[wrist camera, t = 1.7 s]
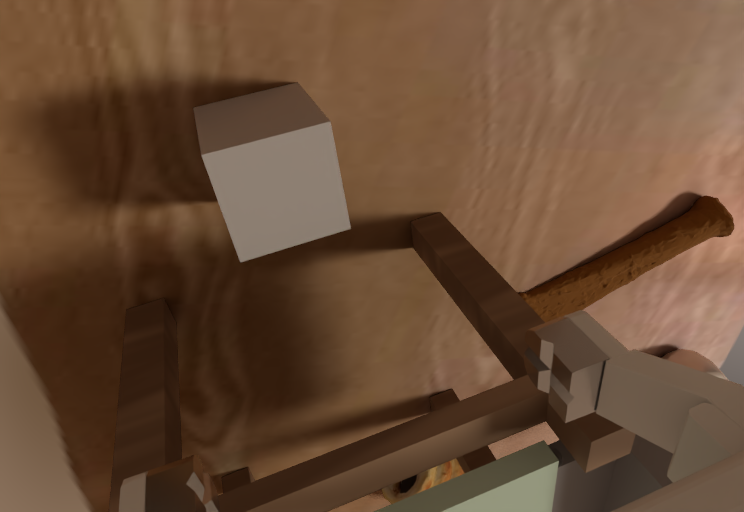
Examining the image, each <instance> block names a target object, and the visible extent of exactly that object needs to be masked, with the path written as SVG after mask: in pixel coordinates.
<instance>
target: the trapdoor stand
mask: <svg viewBox="0 0 744 512" xmlns="http://www.w3.org/2000/svg"><path fill="white" fill-rule="evenodd" d="M411 229H412V239H413V248H414V249H415V251H416V252H417V253H418V255H419V256H420V257H421V259H422V260H423V261H424V263H425V264H426V265H427V266H428V268H429V269H430V270H431V272H432V273H433V274H434V276H435V277H436V278H437V280H438V281H439V282H440V283H441V285H442V286H443V287H444V289H445V290H446V291H447V293H448V294H449V295H450V297H451V298H452V299H453V300H454V302H455V303H456V304H457V306H458V307H459V308H460V310H461V311H462V312H463V314H464V315H465V316H466V317H467V319H468V320H469V321H470V323H471V324H472V325H473V327H474V328H475V329H476V331H477V332H478V333H479V334H480V336H481V337H482V338H483V340H484V341H485V342H486V344H487V345H488V346H489V348H490V349H491V350H492V351H493V353H494V354H495V355H496V357H497V358H498V359H499V361H500V362H501V363H502V365H503V366H504V367H505V368H506V370H507V371H508V372H509V374H510V375H511V376H512V378H513V379H514V380H513V381H510V382H508V383H505V384H503V385H500V386H497V387H495V388H492V389H490V390H487V391H485V392H482V393H479V394H477V395H474V396H472V397H469V398H467V399H464V400H462V401H460V400H459V399H458V397H457V395H456V394H455V392H454V391H453V389H450V390H448V391H445V392H443V393H440V394H437V395H435V396H432V397H430V405H431V413H428V414H426V415H423V416H421V417H418V418H415V419H413V420H410V421H408V422H405V423H403V424H400V425H397V426H395V427H392V428H390V429H387V430H385V431H382V432H380V433H377V434H374V435H372V436H369V437H367V438H364V439H362V440H359V441H357V442H354V443H351V444H349V445H346V446H344V447H341V448H339V449H336V450H333V451H331V452H328V453H326V454H323V455H321V456H318V457H316V458H313V459H310V460H308V461H305V462H303V463H300V464H298V465H295V466H292V467H290V468H287V469H285V470H282V471H280V472H277V473H275V474H272V475H269V476H267V477H264V478H262V479H259V480H257V481H255V480H254V478H253V476H252V474H251V472H250V470H249V468H248V467H247V468H245V469H242V470H240V471H237V472H234V473H232V474H229V475H226V476H224V477H222V485H223V494H221V495H218V499H219V504H220V512H327V511H330V510H332V509H335V508H337V507H339V506H342V505H344V504H347V503H349V502H352V501H354V500H356V499H359V498H361V497H364V496H366V495H368V494H371V493H373V492H376V491H378V490H381V489H383V488H385V487H388V486H390V485H393V484H395V483H397V482H400V481H402V480H405V479H407V478H410V477H412V476H414V475H417V474H419V473H422V472H424V471H427V470H429V469H431V468H434V467H436V466H439V465H441V464H443V463H446V462H448V461H451V460H453V459H457V461H458V462H459V464H460V466H461V468H462V470H463V472H464V473H467V472H470V471H472V470H474V469H477V468H479V467H481V466H484V465H486V464H489V463H491V462H493V461H496V458H495V457H494V455H493V454H492V452H491V450H490V449H489V447H488V446H487V445H489V444H492V443H494V442H497V441H499V440H502V439H504V438H506V437H509V436H511V435H514V434H516V433H518V432H521V431H523V430H526V429H528V428H531V427H533V426H535V425H538V424H540V423H543V422H545V421H546V422H547V423H548V425H549V426H550V427H551V429H552V430H553V431H554V433H555V434H556V435H557V436H558V438H559V439H560V440H561V442H562V443H563V444H564V446H565V447H566V448H567V450H568V451H569V452H570V453H571V455H572V456H573V457H574V459H575V460H576V461H577V463H578V464H579V465H580V467H581V468H582V469H583V470H584V472H585V473H587V472H589V471H591V470H594V469H596V468H598V467H600V466H603V465H605V464H607V463H609V462H612V461H614V460H616V459H618V458H621V457H623V456H625V455H627V454H630V452H631V449H632V445H633V442H634V438H635V435H636V434H635V433H633V432H631V431H629V430H627V429H625V428H623V427H621V426H619V425H618V424H616V423H614V422H612V421H610V420H608V419H606V418H604V417H602V416H600V415H598V414H597V413H596V412H593V413H590V414H588V415H585V416H583V417H580V418H577V419H575V420H572V421H570V422H567V423H565V422H564V421H563V420H562V418H561V417H560V416H559V415H558V414H557V412H556V411H555V410H554V409H553V407H552V406H551V405H550V404H549V403H548V402H549V393H546V392H544V391H541V390H539V389H537V388H536V386H535V385H534V384H533V382H532V381H531V379H530V378H529V376H528V374H527V371H526V368H525V365H524V353H525V351H526V350H527V349H528V347H529V346H528V345H527V343H526V342H525V333H526V332H527V330H528V329H531V328H533V327H536V326H538V325H541V324H544V323H545V322H544V321H543V320H542V319H541V317H540V316H539V315H538V314H537V313H536V312H535V311H534V310H533V309H532V308H531V307H530V306H529V305H528V304H527V303H526V302H525V301H524V300H523V299H522V297H521V296H520V295H519V294H518V293H517V292H516V291H515V290H514V289H513V288H512V287H511V286H510V285H509V284H508V283H507V282H506V281H505V280H504V278H503V277H502V276H501V275H500V274H499V273H498V272H497V271H496V270H495V269H494V268H493V267H492V266H491V265H490V264H489V263H488V262H487V261H486V260H485V258H484V257H483V256H482V255H481V254H480V253H479V252H478V251H477V250H476V249H475V248H474V247H473V246H472V245H471V244H470V243H469V242H468V241H467V240H466V238H465V237H464V236H463V235H462V234H461V233H460V232H459V231H458V230H457V229H456V228H455V227H454V226H453V225H452V224H451V223H450V222H449V221H448V220H447V218H446V217H445V216H444V215H443V214H442V213H441V212H440V213H437V214H433V215H430V216H427V217H424V218H421V219H417V220H414V221H411ZM180 459H182V447H181V421H180V396H179V371H178V345H177V324H176V322H175V320H174V318H173V316H172V314H171V312H170V310H169V308H168V306H167V304H166V302H165V300H164V298H162V299H159V300H156V301H153V302H150V303H146V304H143V305H140V306H137V307H133V308H130V309H127V310H126V320H125V331H124V343H123V354H122V366H121V377H120V388H119V400H118V411H117V423H116V434H115V446H114V457H113V469H112V480H111V492H110V503H109V512H119V501H120V488H121V486H122V483H123V480H124V479H126V478H129V477H132V476H135V475H138V474H140V473H143V472H146V471H148V470H151V469H154V468H157V467H160V466H163V465H166V464H169V463H172V462H175V461H178V460H180Z"/></svg>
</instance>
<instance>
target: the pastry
mask: <svg viewBox="0 0 744 512" xmlns="http://www.w3.org/2000/svg"><path fill="white" fill-rule="evenodd" d="M462 474H465V473H464V472H463V470H462V468H461V466H460V464H459V462H458V461H457V459H453V460H451V461H448V462H446V463H443V464H441V465H439V466H436V467H434V468H431V469H429V470H427V471H424V472H422V473H419V474H417V475H414V476H412V477H410V478H407V479H405V480H402V481H400V482H397V483H395V484H393V485H390V486H388V487H385V488H383V489H382V493H383V496H384V498H385V499H386V500H388V501H389V502H390V503H391V504H394V503H396V502H398V501H401V500H403V499H405V498H408V497H410V496H413V495H415V494H417V493H420V492H422V491H424V490H427V489H429V488H432V487H434V486H436V485H439V484H441V483H443V482H446V481H448V480H451V479H453V478H455V477H458V476H460V475H462Z"/></svg>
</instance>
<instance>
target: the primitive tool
mask: <svg viewBox="0 0 744 512" xmlns="http://www.w3.org/2000/svg"><path fill="white" fill-rule="evenodd" d="M733 230H734V223H733V217H732V215H731V214H730V213H729V212H728V211H727V209H726V208H725V207H724V206H723V205H722V204H721V203H720V202H719V200H718V198H713V197H710V196H703V197H700V198H699V199H698V200H697V201H696V202H695V203H694V205H693V206H692V208H691V209H690V211H688V212H687V213H685V214H684V215H682V216H681V217H678V218H676V219H674V220H672V221H670V222H668V223H667V224H665V225H663V226H662V227H659V228H657V229H656V230H654V231H652V232H648V233H646V234H644V235H643V236H641V237H640V238H638V239H637V240H635V241H632V242H630V243H628V244H625V245H623V246H621V247H619V248H618V249H616V250H614V251H612V252H610V253H608V254H605V255H604V256H602V257H600V258H598V259H596V260H594V261H592V262H590V263H588V264H586V265H584V266H581V267H578V268H576V269H574V270H573V271H570V272H567V273H566V274H564V275H563V276H561V277H558V278H557V279H555V280H553V281H550V282H548V283H545V284H544V285H542V286H540V287H538V288H535V289H533V290H531V291H529V292H527V293H524V292H522V293H519V295H520V296H521V297H522V299H523V300H524V301H525V302H526V303H527V304H528V305H529V306H530V307H531V308H532V309H533V310H534V311H535V312H536V313H537V314H538V315H539V316H540V317H541V319H542V320H543V321H544V322H545V323H546V322H549V321H551V320H554V319H556V318H559V317H563V316H566V315H568V314H571V313H574V312H576V311H579V310H583V309H584V308H586V307H588V306H589V305H591V304H593V303H594V302H596V301H597V300H599V299H601V298H603V297H604V296H606V295H607V294H609V293H611V292H612V291H614V290H616V289H617V288H619V287H621V286H623V285H626V284H628V283H630V282H631V281H634V280H635V279H636V278H637V277H639V276H640V275H642V274H644V273H645V272H647V271H649V270H651V269H653V268H654V267H656V266H659V265H661V264H663V263H664V262H666V261H668V260H670V259H672V258H673V257H675V256H676V255H678V254H680V253H682V252H684V251H686V250H688V249H690V248H692V247H694V246H696V245H698V244H700V243H702V242H704V241H705V240H707V239H709V238H712V237H724V236H729V235H731V233H732V232H733Z"/></svg>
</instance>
